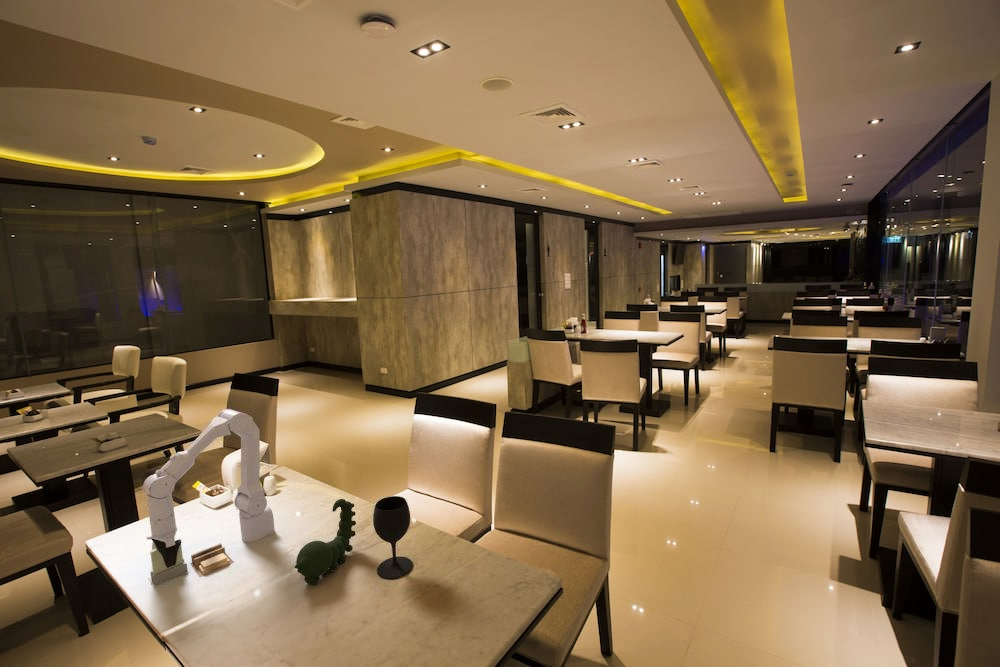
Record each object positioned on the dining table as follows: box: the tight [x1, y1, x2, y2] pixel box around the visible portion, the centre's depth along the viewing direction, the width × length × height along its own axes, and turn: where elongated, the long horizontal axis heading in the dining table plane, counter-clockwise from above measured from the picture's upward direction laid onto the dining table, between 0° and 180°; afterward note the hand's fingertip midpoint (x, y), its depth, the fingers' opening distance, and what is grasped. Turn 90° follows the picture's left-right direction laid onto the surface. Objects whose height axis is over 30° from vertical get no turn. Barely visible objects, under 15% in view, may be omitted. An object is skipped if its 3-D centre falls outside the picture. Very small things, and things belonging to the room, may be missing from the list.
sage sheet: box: [149, 544, 184, 575], centre depth 133 cm, size 7×2×9 cm, turn 137°
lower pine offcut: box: [199, 555, 230, 575], centre depth 137 cm, size 7×4×1 cm, turn 137°
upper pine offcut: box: [201, 553, 227, 570], centre depth 137 cm, size 6×4×1 cm, turn 137°
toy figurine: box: [294, 498, 357, 586], centre depth 134 cm, size 9×19×25 cm
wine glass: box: [372, 495, 414, 580], centre depth 133 cm, size 10×10×20 cm
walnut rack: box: [189, 542, 235, 578], centre depth 139 cm, size 9×10×3 cm
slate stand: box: [148, 557, 191, 588], centre depth 133 cm, size 9×6×3 cm, turn 137°
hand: (167, 560), depth 133 cm, fingers open, 7 cm apart
